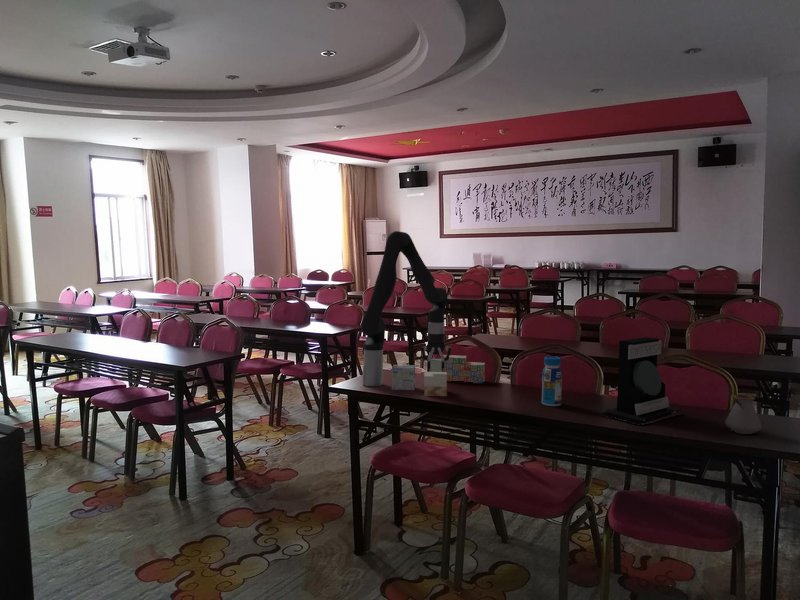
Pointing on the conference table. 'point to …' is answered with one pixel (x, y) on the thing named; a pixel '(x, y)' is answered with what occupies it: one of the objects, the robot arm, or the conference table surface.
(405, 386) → the light bulb box
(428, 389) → the oak block
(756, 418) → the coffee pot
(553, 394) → the beverage bottle
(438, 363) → the sage cube
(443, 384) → the cream block
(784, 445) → the conference table surface
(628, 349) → the award
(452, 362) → the stack of blocks
